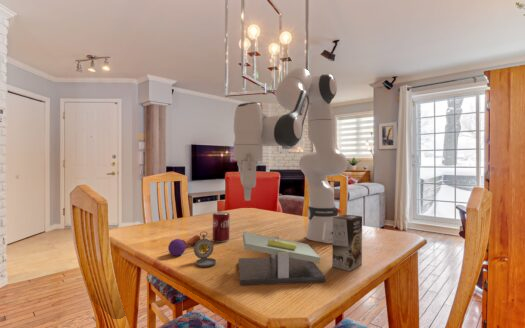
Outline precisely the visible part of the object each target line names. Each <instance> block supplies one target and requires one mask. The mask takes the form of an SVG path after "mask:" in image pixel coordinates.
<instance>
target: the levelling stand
mask: <svg viewBox="0 0 525 328" xmlns="http://www.w3.org/2000/svg"><path fill="white" fill-rule="evenodd" d="M272 237H273V238H278V239H280V237H279V236H272ZM238 273H239V286H240V285H242V286H258V284H266V285H280V284H279V283H290V284H311V282H312V283H326V276H325V275H324V273H323V272H322V270H321V269H320V268H319V267H318V266H317V265H316V264H315V262H311V261H306V260H300V259H295V258H289V252H278V255H273V254H269V256H268V257H244V258H243V257H242V258H241V257H240V258H238ZM277 283H278V284H277Z"/></svg>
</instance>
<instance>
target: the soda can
mask: <svg viewBox="0 0 525 328" xmlns="http://www.w3.org/2000/svg"><path fill="white" fill-rule="evenodd" d="M230 217H231V216H230V213H229V212H228V211H215V212H213V213H212V241H213V242H215V243H226V242H228V241H229V240H230V229H231V228H230V222H231V221H230Z"/></svg>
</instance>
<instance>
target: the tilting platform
mask: <svg viewBox="0 0 525 328" xmlns="http://www.w3.org/2000/svg"><path fill="white" fill-rule="evenodd" d="M273 237H274V236H269V235H268V236H267V235H262V234H258V233H251V232H245V231H243V233H242V241H243V242H242V243H243V248H244V250H247V251H253V252H257V253H262V254H269V255H270V254H273V255H278V252H289V258H295V259H300V260H306V261H311V262H314V263H318V264H320V261H321V257H320V256H319V254H317V252H315V250H314V249H313V248H312V247H311V246H310V245H309V244H308V243H304V242H299V241H295V240H288V239H282V238H279V239H278V238H273Z"/></svg>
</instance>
